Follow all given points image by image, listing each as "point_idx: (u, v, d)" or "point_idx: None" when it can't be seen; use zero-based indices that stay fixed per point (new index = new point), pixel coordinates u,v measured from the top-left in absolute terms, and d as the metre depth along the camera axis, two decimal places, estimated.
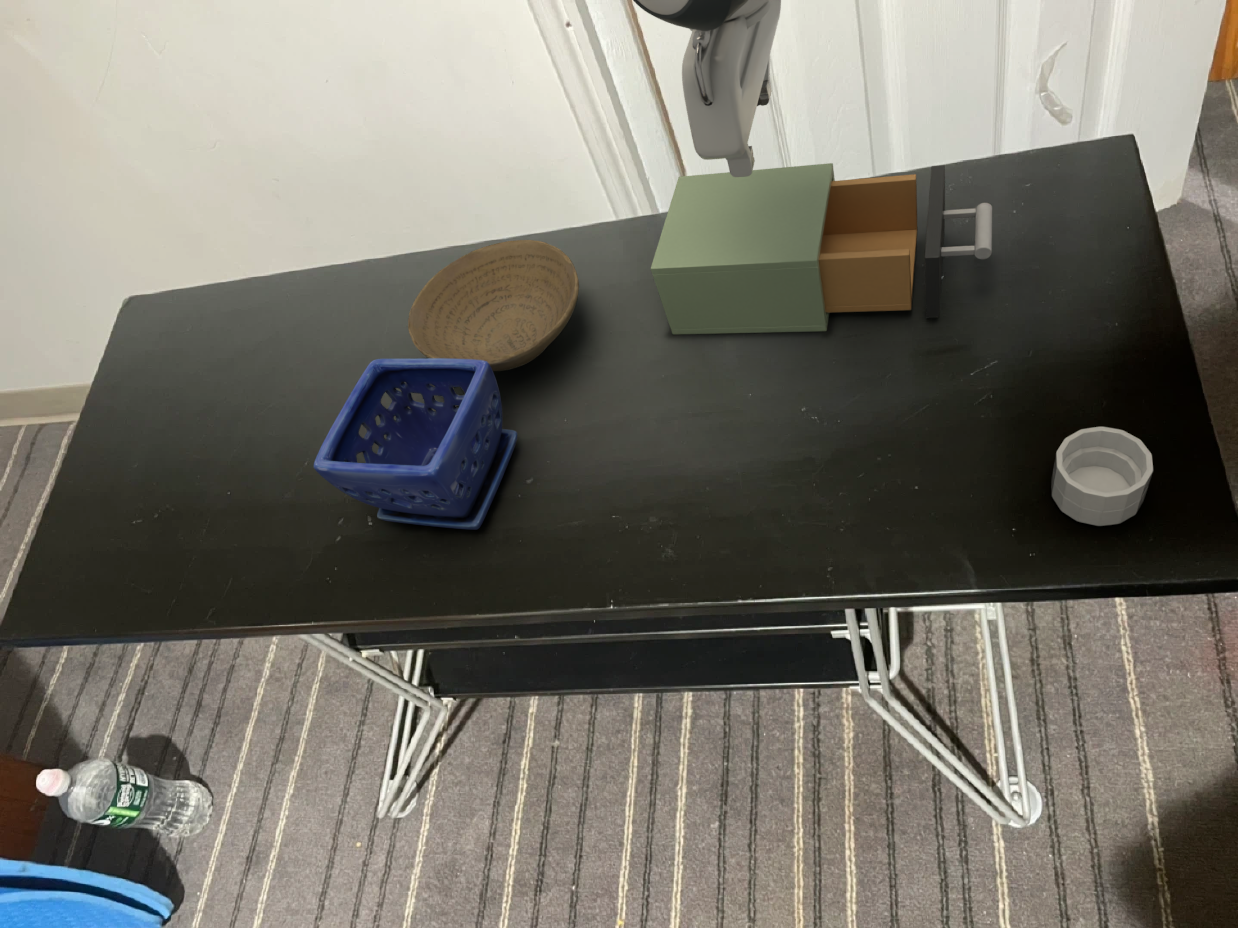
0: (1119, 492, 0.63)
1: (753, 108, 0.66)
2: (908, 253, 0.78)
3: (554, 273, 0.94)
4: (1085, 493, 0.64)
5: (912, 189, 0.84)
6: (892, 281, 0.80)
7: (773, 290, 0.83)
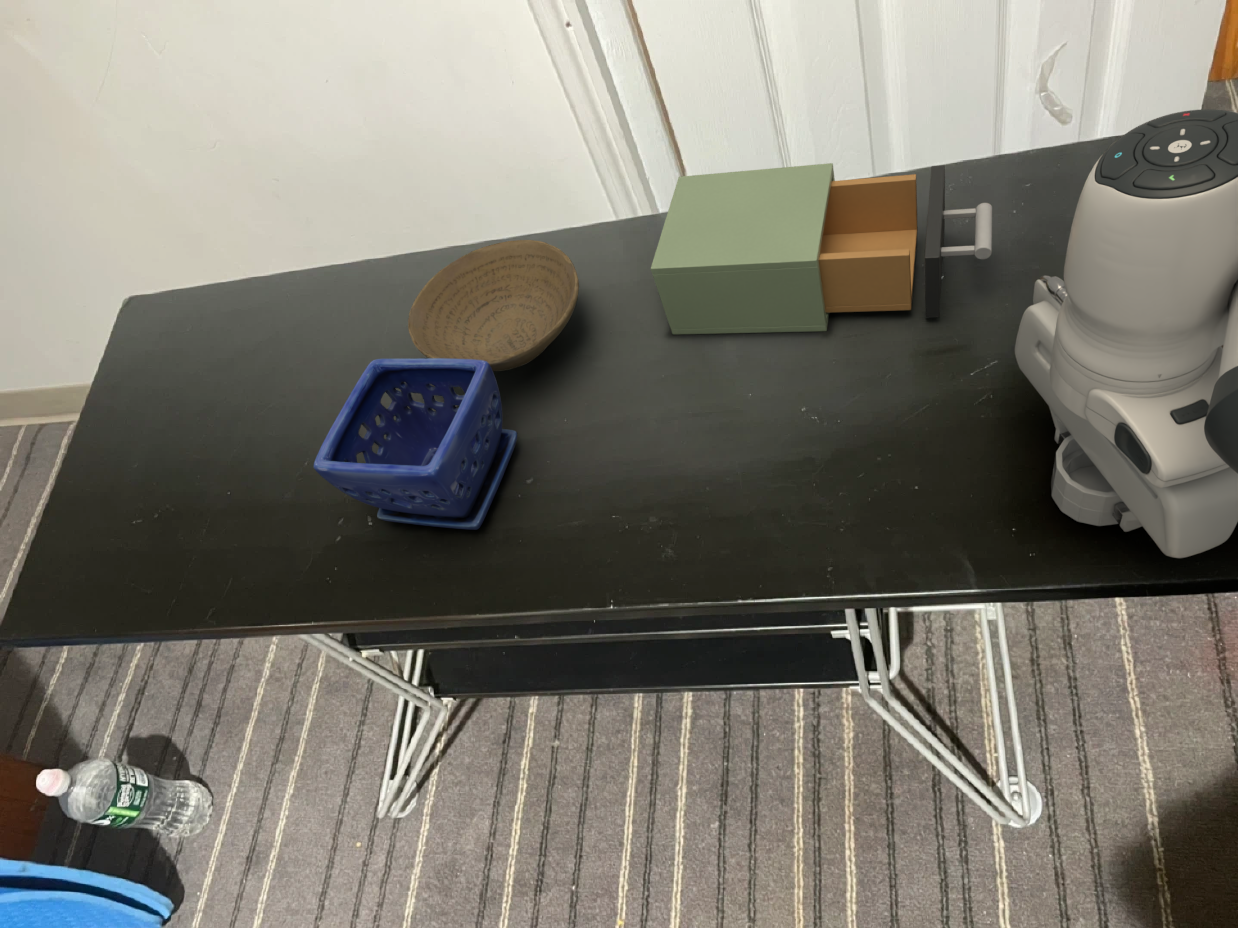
0: None
1: (1046, 396, 0.66)
2: (908, 253, 0.78)
3: (554, 273, 0.94)
4: (1085, 493, 0.64)
5: (912, 189, 0.84)
6: (892, 281, 0.80)
7: (773, 290, 0.83)
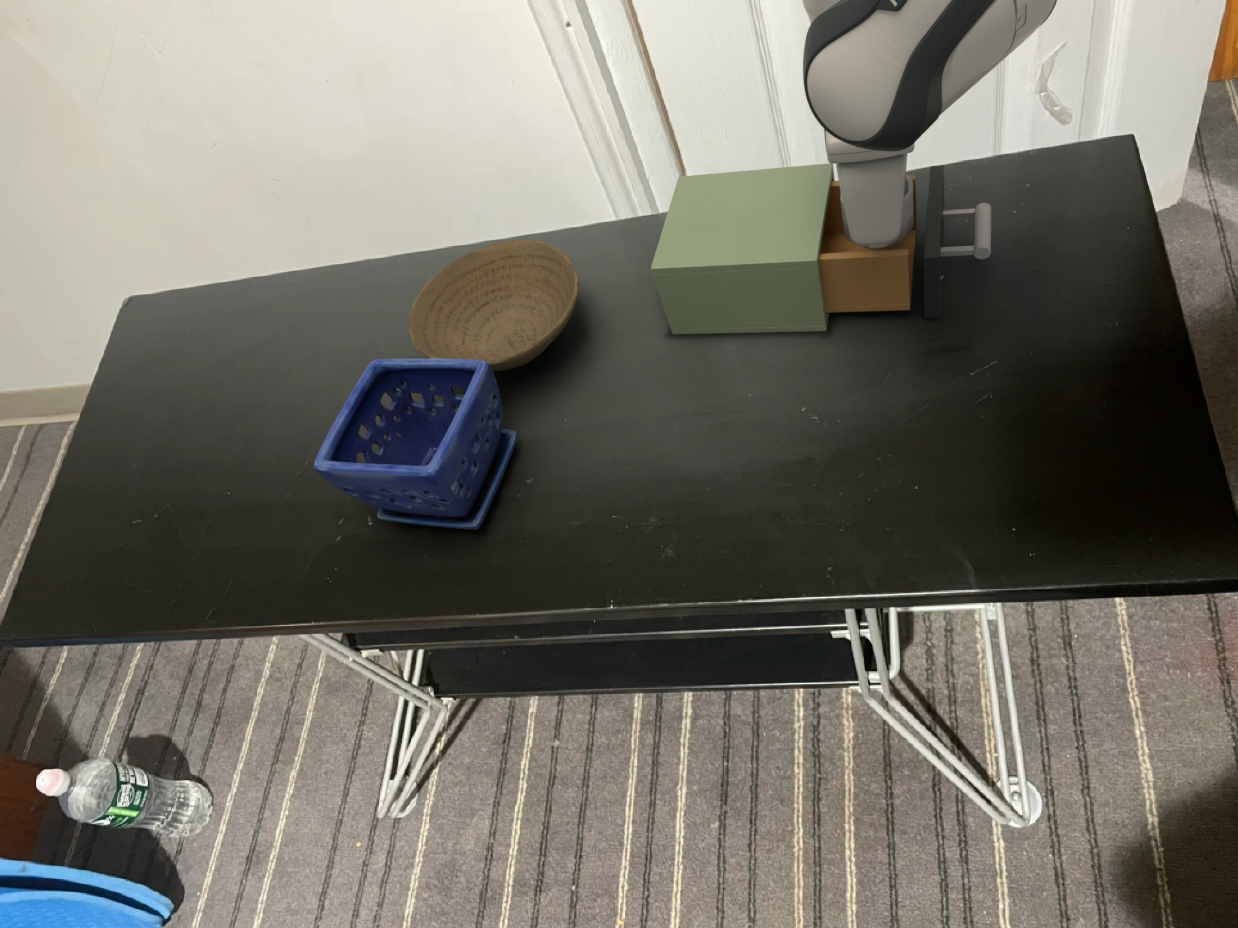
0: None
1: None
2: (907, 253, 0.78)
3: (554, 273, 0.94)
4: None
5: None
6: (891, 281, 0.80)
7: (773, 290, 0.83)
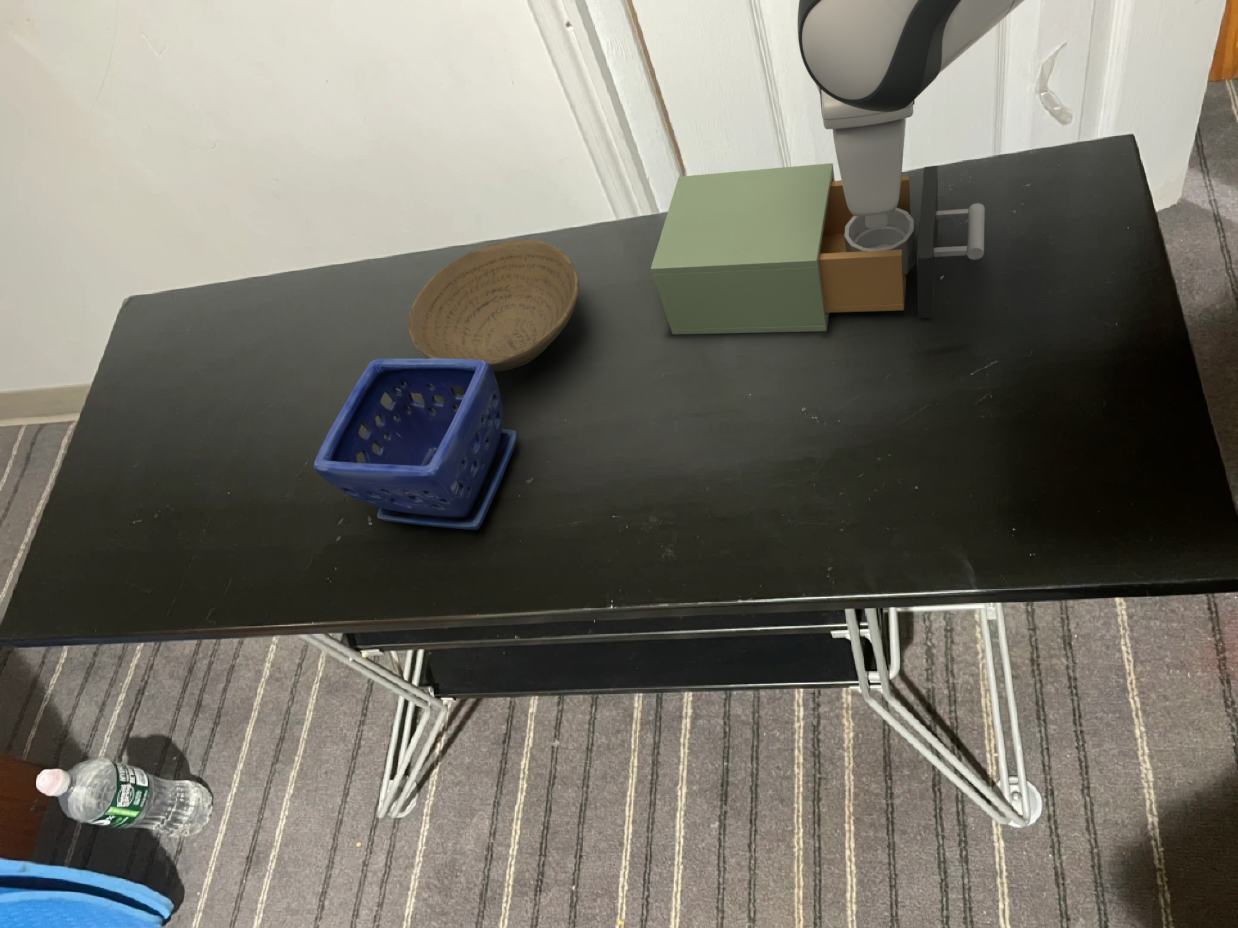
0: (873, 249, 0.81)
1: None
2: (900, 253, 0.78)
3: (554, 273, 0.94)
4: (851, 246, 0.82)
5: (905, 190, 0.84)
6: (885, 281, 0.81)
7: (773, 290, 0.83)
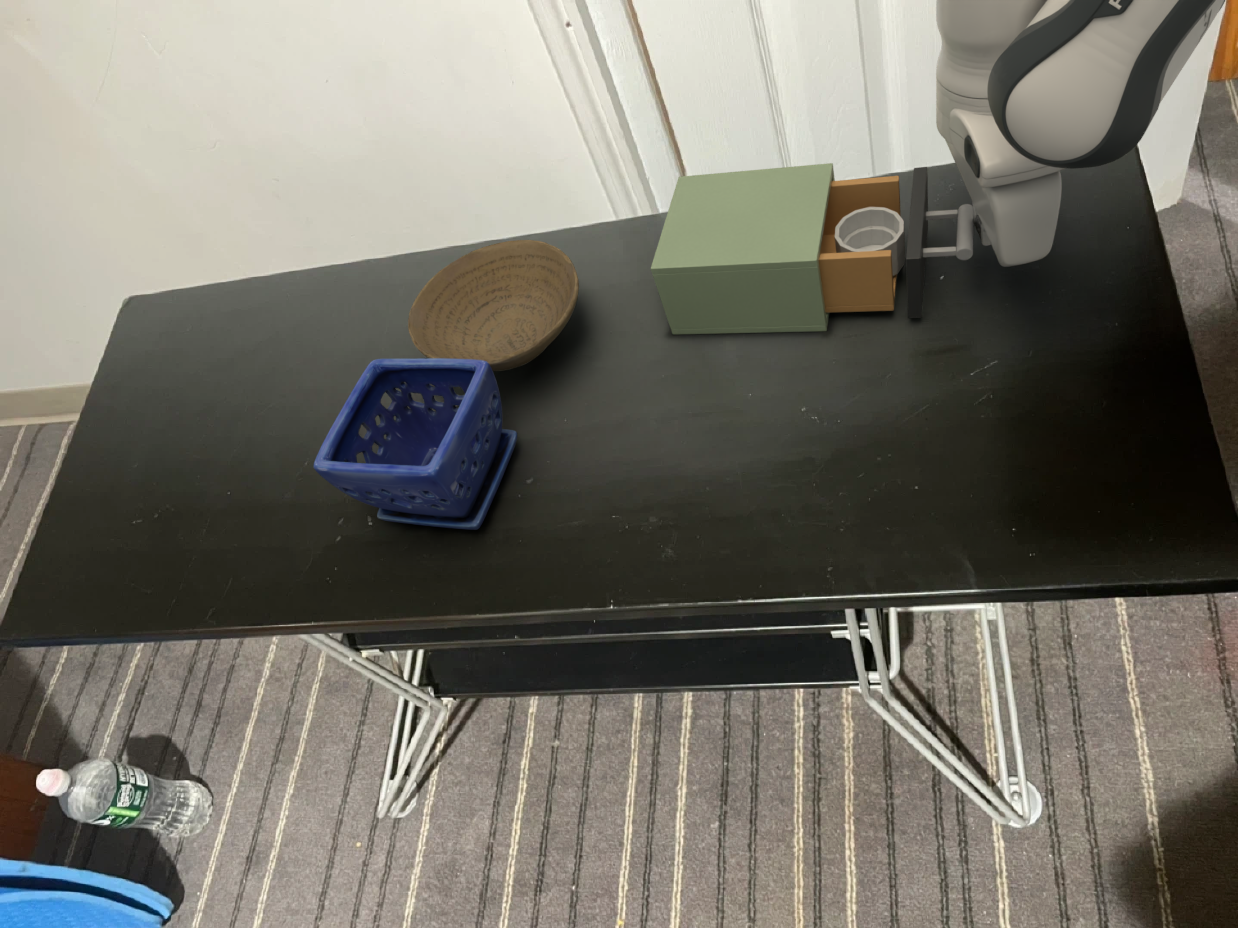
0: (862, 250, 0.82)
1: (953, 154, 0.80)
2: (890, 254, 0.78)
3: (554, 273, 0.94)
4: (841, 246, 0.83)
5: (895, 191, 0.84)
6: (874, 282, 0.81)
7: (773, 290, 0.83)
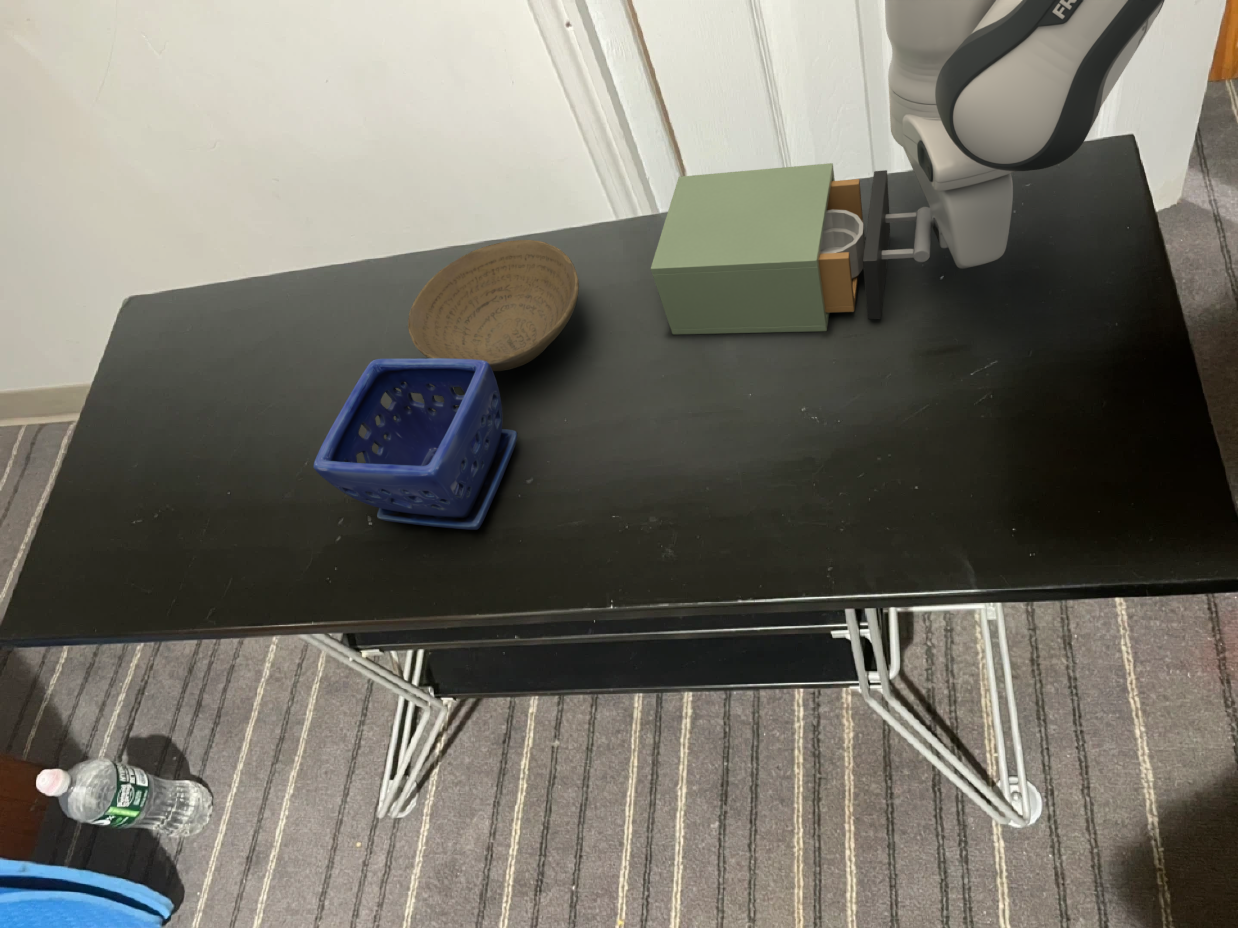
0: (822, 252, 0.83)
1: (910, 158, 0.81)
2: (847, 256, 0.79)
3: (554, 273, 0.94)
4: None
5: (856, 194, 0.86)
6: (834, 283, 0.82)
7: (773, 290, 0.83)
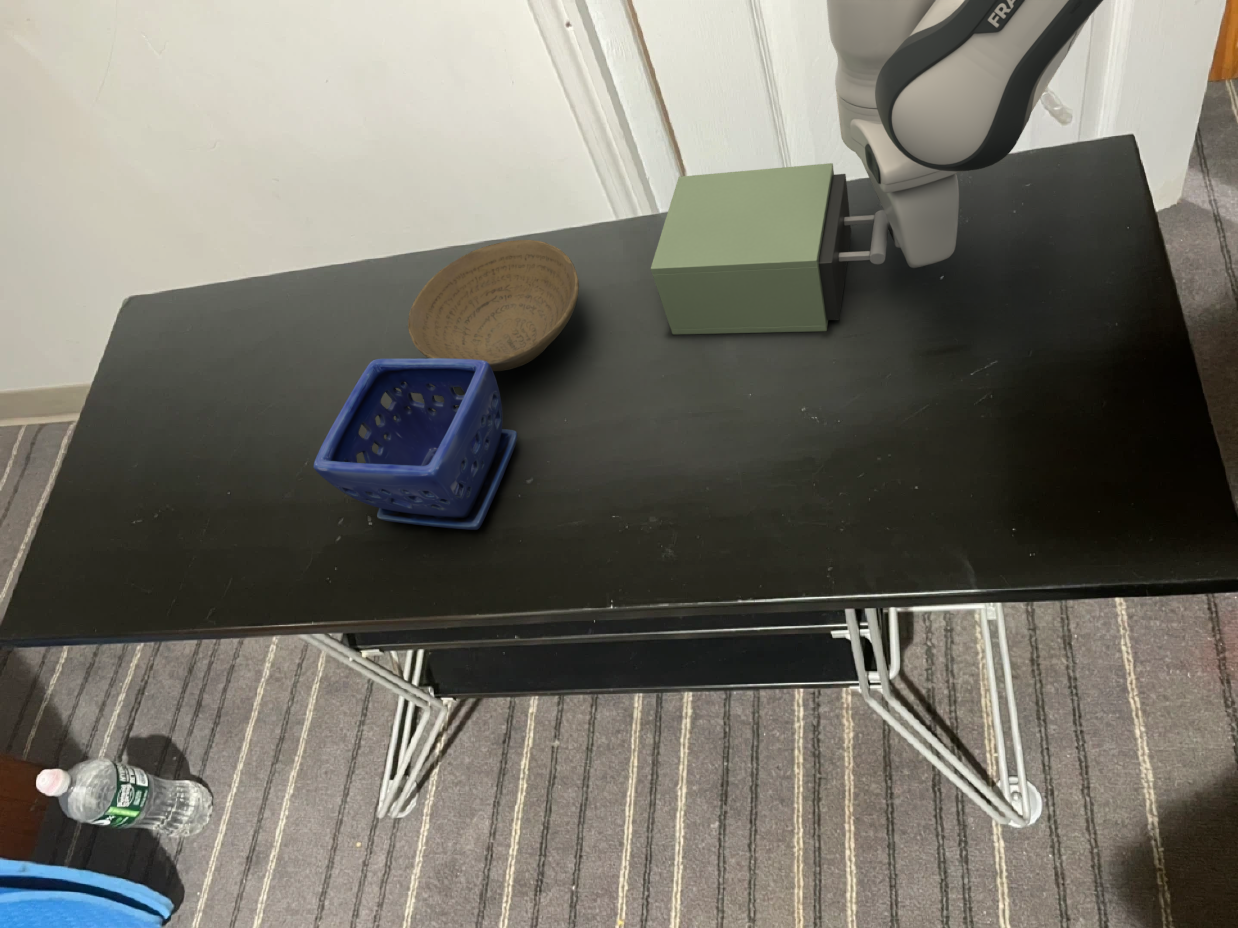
0: None
1: (863, 162, 0.83)
2: None
3: (554, 273, 0.94)
4: None
5: None
6: None
7: (773, 290, 0.83)
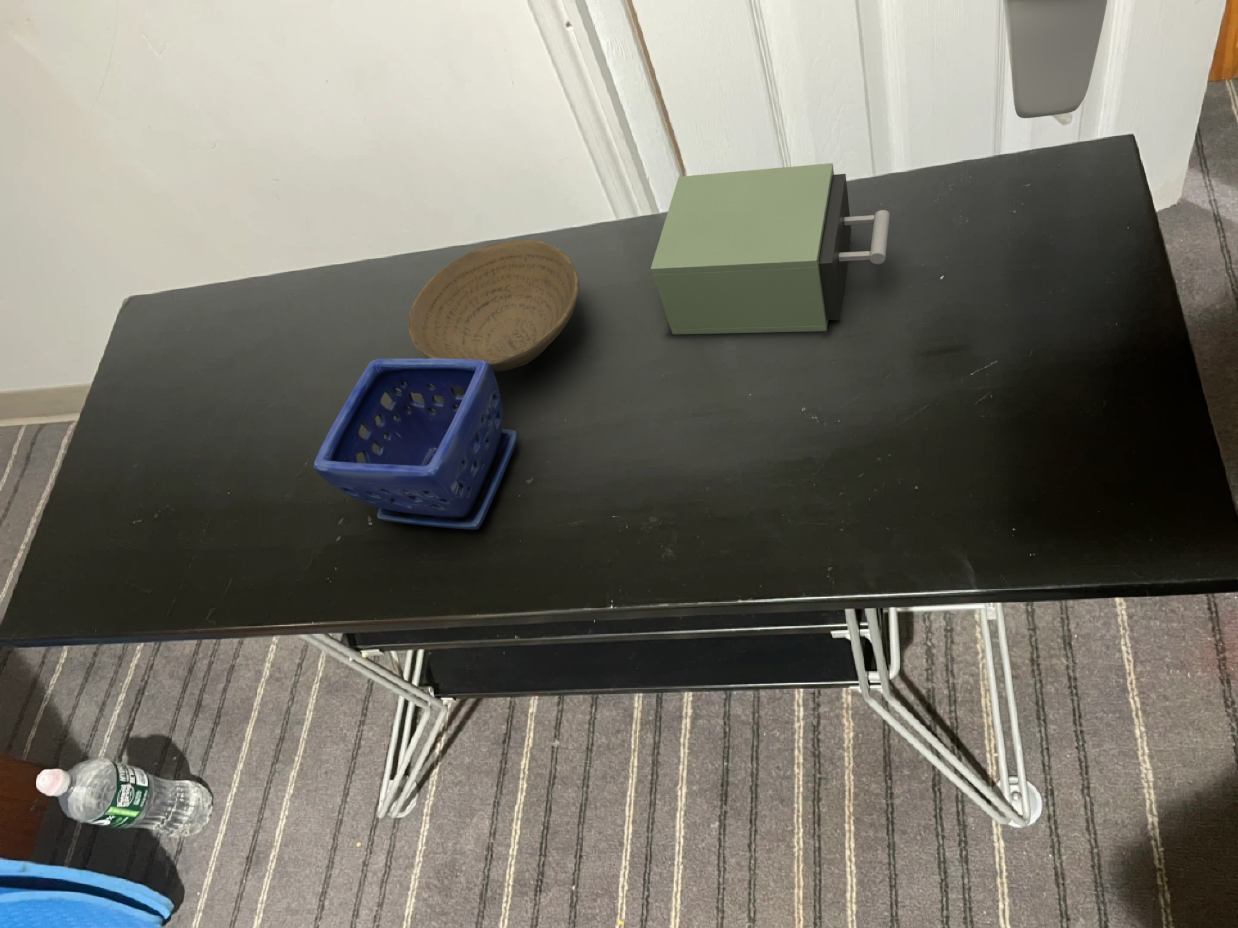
0: None
1: None
2: None
3: (554, 273, 0.94)
4: None
5: None
6: None
7: (773, 290, 0.83)
